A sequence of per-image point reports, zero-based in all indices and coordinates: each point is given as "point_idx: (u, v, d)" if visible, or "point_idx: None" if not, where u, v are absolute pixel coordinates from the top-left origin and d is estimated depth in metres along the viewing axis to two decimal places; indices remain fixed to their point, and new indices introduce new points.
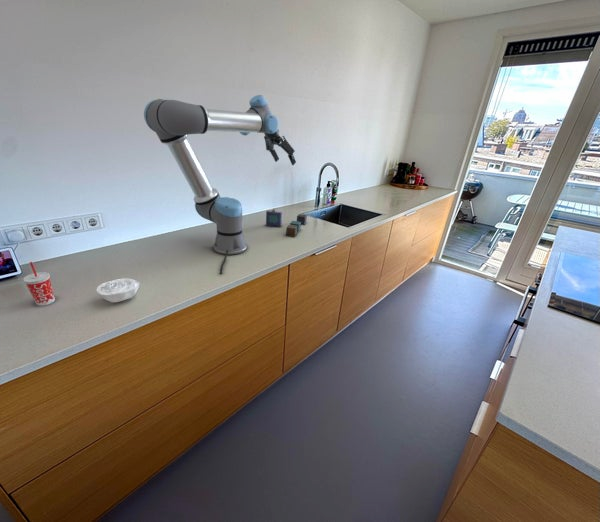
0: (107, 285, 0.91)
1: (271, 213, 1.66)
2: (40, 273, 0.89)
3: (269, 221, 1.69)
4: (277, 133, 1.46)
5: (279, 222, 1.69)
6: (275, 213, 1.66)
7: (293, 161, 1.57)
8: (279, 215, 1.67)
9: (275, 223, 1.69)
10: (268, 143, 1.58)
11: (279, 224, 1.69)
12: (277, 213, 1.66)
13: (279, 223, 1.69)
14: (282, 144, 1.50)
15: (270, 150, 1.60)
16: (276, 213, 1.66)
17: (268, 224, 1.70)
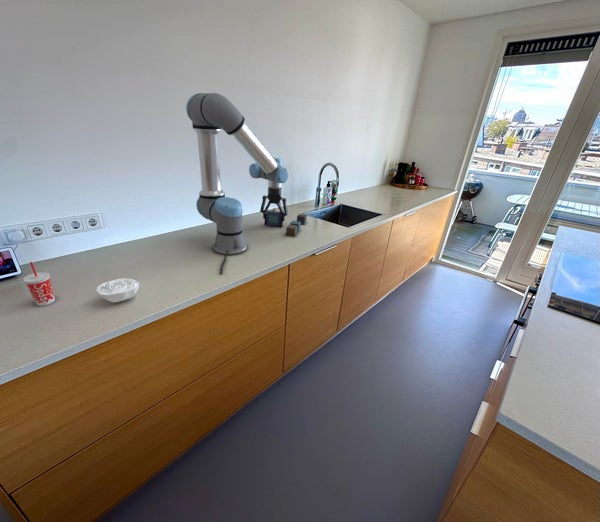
0: (107, 285, 0.91)
1: (271, 213, 1.66)
2: (40, 273, 0.89)
3: (269, 221, 1.69)
4: (280, 193, 1.62)
5: (279, 222, 1.69)
6: (275, 213, 1.66)
7: (282, 223, 1.69)
8: (279, 215, 1.67)
9: (275, 223, 1.69)
10: (264, 204, 1.67)
11: (279, 224, 1.69)
12: (277, 213, 1.66)
13: (279, 223, 1.69)
14: (280, 205, 1.64)
15: (265, 211, 1.67)
16: (276, 213, 1.66)
17: (268, 224, 1.70)
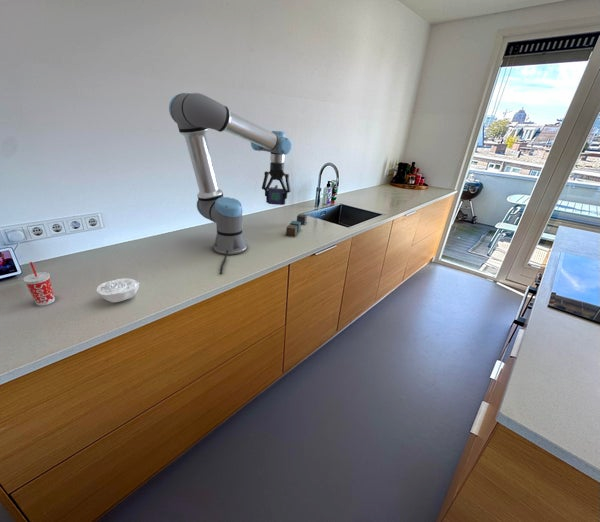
0: (107, 285, 0.91)
1: (273, 190, 1.61)
2: (40, 273, 0.89)
3: (271, 198, 1.63)
4: (283, 168, 1.56)
5: (281, 200, 1.63)
6: (277, 190, 1.60)
7: (284, 201, 1.63)
8: (281, 192, 1.61)
9: (278, 201, 1.63)
10: (266, 181, 1.61)
11: (281, 202, 1.64)
12: (279, 190, 1.61)
13: (281, 201, 1.63)
14: (282, 181, 1.59)
15: (267, 188, 1.61)
16: (278, 190, 1.60)
17: (270, 202, 1.64)
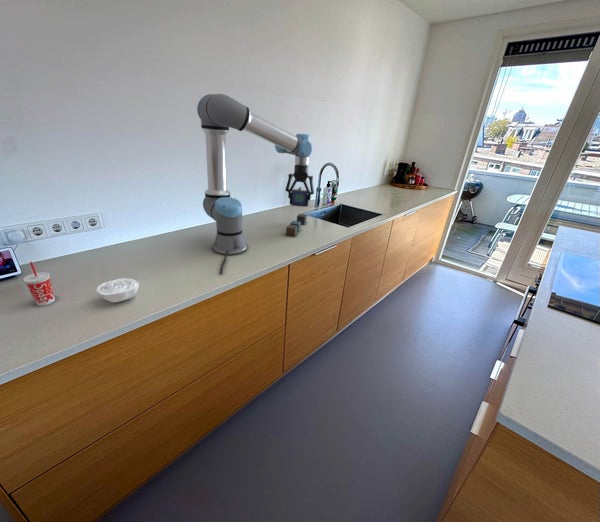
0: (107, 285, 0.91)
1: (297, 192, 1.62)
2: (40, 273, 0.89)
3: (294, 200, 1.65)
4: (307, 171, 1.58)
5: (305, 201, 1.65)
6: (301, 192, 1.62)
7: (307, 203, 1.65)
8: (305, 194, 1.63)
9: (301, 203, 1.65)
10: (289, 183, 1.63)
11: (305, 203, 1.65)
12: (303, 192, 1.62)
13: (305, 202, 1.65)
14: (306, 183, 1.60)
15: (290, 190, 1.63)
16: (302, 192, 1.62)
17: (293, 203, 1.66)
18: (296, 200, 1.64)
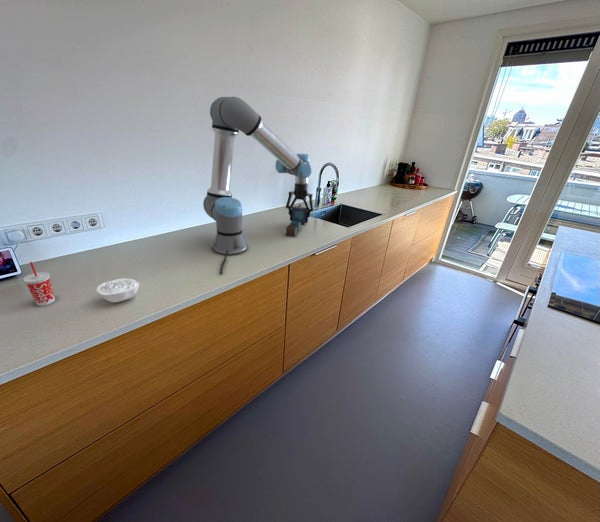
0: (107, 285, 0.91)
1: (297, 209, 1.67)
2: (40, 273, 0.89)
3: (294, 217, 1.69)
4: (307, 189, 1.62)
5: (304, 218, 1.69)
6: (301, 209, 1.67)
7: (307, 219, 1.69)
8: (305, 211, 1.67)
9: (301, 219, 1.69)
10: (290, 200, 1.67)
11: (304, 220, 1.70)
12: (303, 209, 1.67)
13: (304, 219, 1.70)
14: (306, 201, 1.65)
15: (290, 207, 1.68)
16: (302, 209, 1.67)
17: (293, 220, 1.70)
18: (296, 217, 1.69)
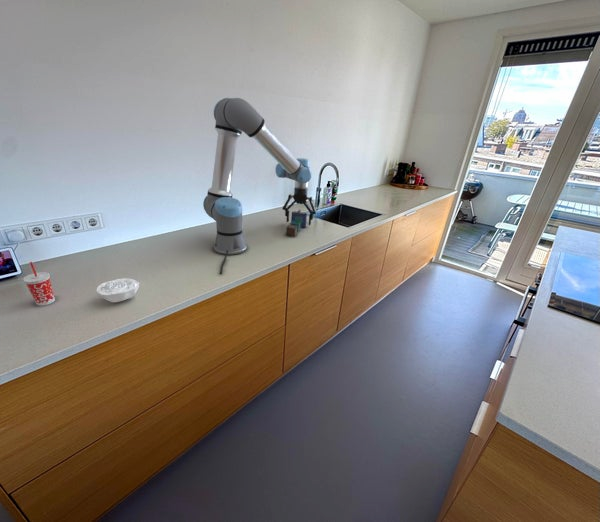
0: (107, 285, 0.91)
1: (297, 214, 1.68)
2: (40, 273, 0.89)
3: None
4: None
5: (304, 223, 1.71)
6: (300, 214, 1.68)
7: (310, 222, 1.69)
8: (304, 216, 1.69)
9: None
10: None
11: (304, 225, 1.71)
12: (302, 214, 1.68)
13: (304, 224, 1.71)
14: (307, 204, 1.65)
15: (287, 209, 1.69)
16: (301, 214, 1.68)
17: None
18: None
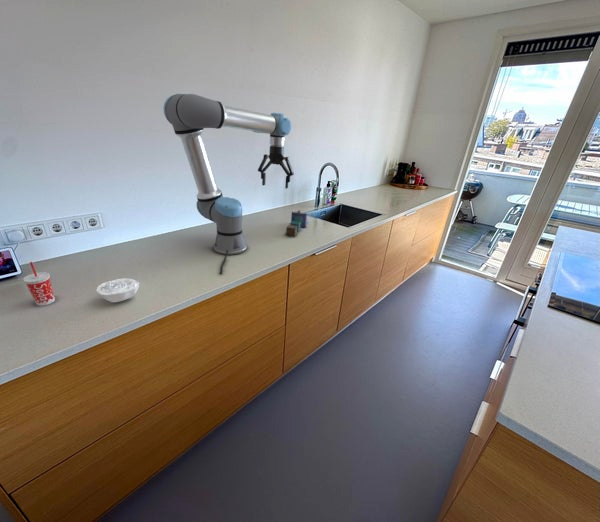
0: (107, 285, 0.91)
1: (297, 214, 1.68)
2: (40, 273, 0.89)
3: None
4: (283, 152, 1.52)
5: (304, 223, 1.71)
6: (300, 214, 1.68)
7: (287, 185, 1.58)
8: (304, 216, 1.69)
9: None
10: (263, 164, 1.57)
11: (304, 225, 1.71)
12: (302, 214, 1.68)
13: (304, 224, 1.71)
14: (283, 165, 1.54)
15: (263, 171, 1.57)
16: (301, 214, 1.68)
17: None
18: None
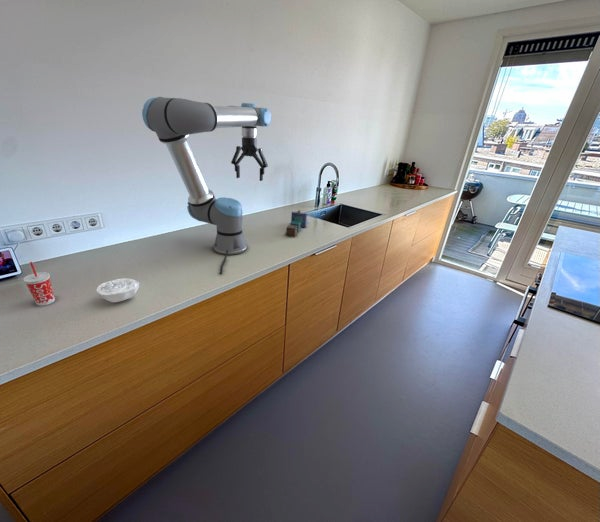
0: (107, 285, 0.91)
1: (297, 214, 1.68)
2: (40, 273, 0.89)
3: None
4: (256, 144, 1.49)
5: (304, 223, 1.71)
6: (300, 214, 1.68)
7: (261, 177, 1.55)
8: (304, 216, 1.69)
9: None
10: (236, 156, 1.54)
11: (304, 225, 1.71)
12: (302, 214, 1.68)
13: (304, 224, 1.71)
14: (257, 156, 1.51)
15: (236, 163, 1.54)
16: (301, 214, 1.68)
17: None
18: None
